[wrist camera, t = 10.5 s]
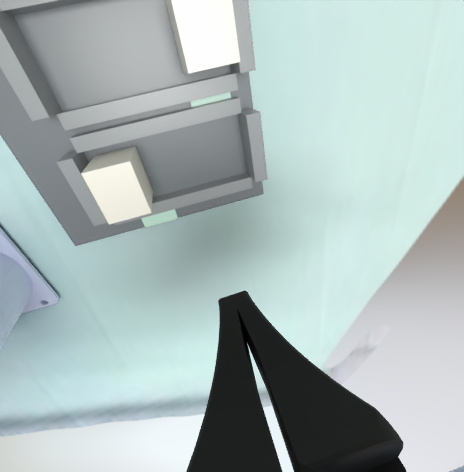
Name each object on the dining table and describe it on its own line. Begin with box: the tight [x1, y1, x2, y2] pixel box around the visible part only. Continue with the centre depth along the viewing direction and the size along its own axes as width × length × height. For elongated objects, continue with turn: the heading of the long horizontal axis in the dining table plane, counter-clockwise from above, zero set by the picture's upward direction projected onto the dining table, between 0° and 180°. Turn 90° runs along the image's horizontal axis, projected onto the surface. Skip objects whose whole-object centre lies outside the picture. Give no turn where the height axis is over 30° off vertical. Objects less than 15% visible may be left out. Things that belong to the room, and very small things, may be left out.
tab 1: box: [81, 146, 153, 224], centre depth 15 cm, size 2×3×3 cm
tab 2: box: [165, 0, 240, 74], centre depth 12 cm, size 2×3×3 cm
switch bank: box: [0, 0, 267, 246], centre depth 13 cm, size 14×20×3 cm
